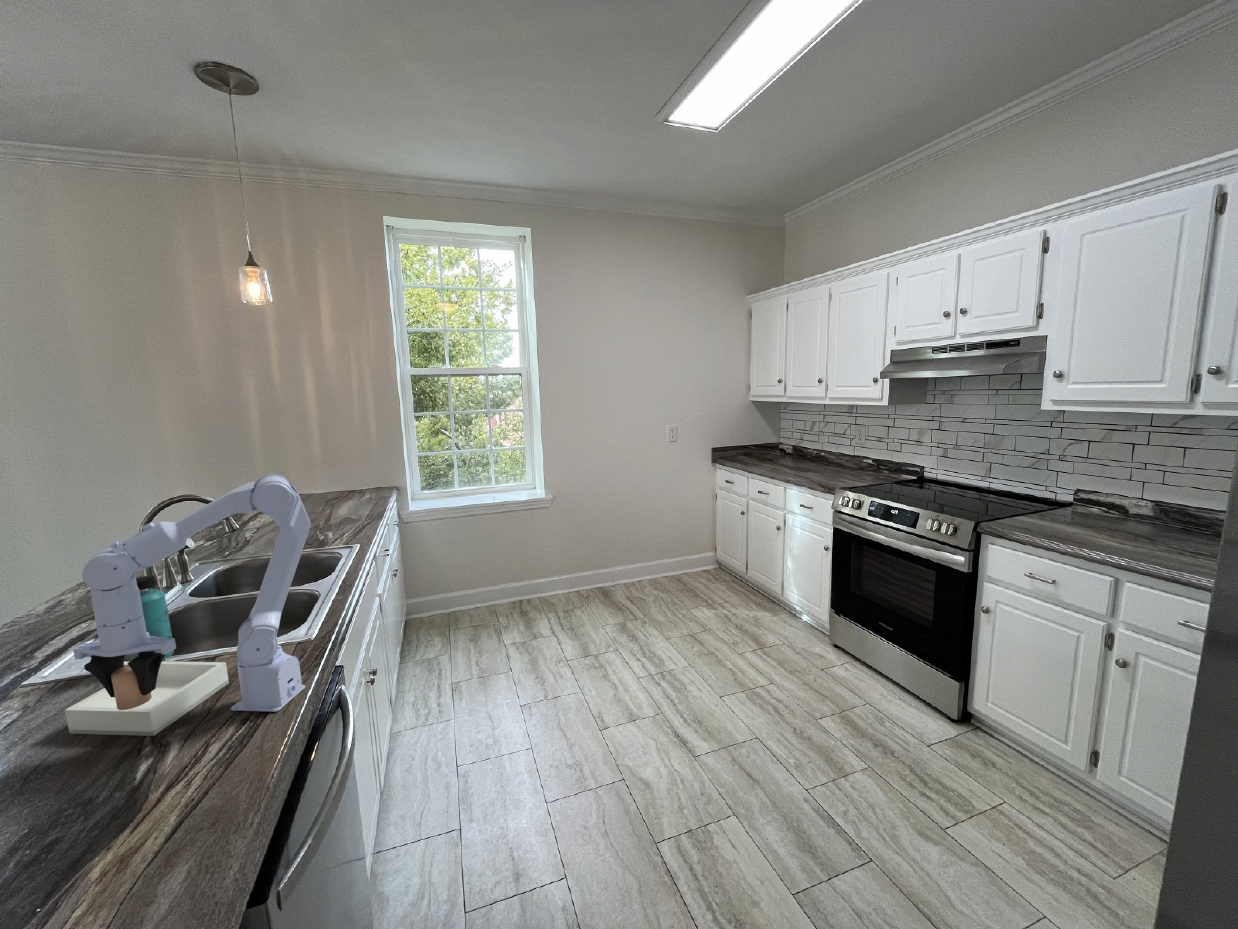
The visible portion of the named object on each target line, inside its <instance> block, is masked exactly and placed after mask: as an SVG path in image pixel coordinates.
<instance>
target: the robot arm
mask: <svg viewBox="0 0 1238 929" xmlns="http://www.w3.org/2000/svg"><path fill="white" fill-rule="evenodd" d="M255 508H256V510H258V511H259V512H261V513H262V514H265V515H266V516H267V517H269V518H271V519H272V520H273V522H274V523H275V524H276V525H277V526H278V528H279V533H278V535H277V539H276V542H275V545H274V548H273V551H272V552H271V555H270V556H271V557H270V559H269V562H268V565H267V568H266V571H265V574H264V577H263V580H262V583H261V585H260V587H259V592H258V594H257V597H256V601H255V603H254V605H253V607H252V609H251V611H250V613H249V616H248V618H247V619H246V620H245V621H244V622H243V623H242V624H241V625H240V627H239V628H238V631H237V632H238V633H237V638H238V641H237V646H236V657H237V659H236V665H237V666H236V667H237V672H238V679H239V686H240V688H239V689H240V692H241V693H240V694H241V700H239V701H238V702H236V703H235V704H234V705H233V706H231V707H230V710H231V711H234V712H235V711H236V712H238V711H240V712H241V711H242V712H279V711H280V710H281V709H282V708H284V707H285V706H286V705H287V704H288V703H289V702H290V701H291V700H293V699H294V698H295V697H296V696H298V694H300V693H301V692H302V691H303V690H304V689H305V688H306V685H305V684H303V683H302V682H303V681H302V674H301V664H300V661H299V659H298V657H297V656H295V655H290V654H288V653H285V652H284V651H283V647H282V646H281V645H279V641H278V637H277V636H278V631H279V628H280V622H281V617H282V612H283V609H284V606H285V603H286V600H287V597H288V594H289V591H290V588H291V586H292V583H293V580H294V576H295V574H296V570H297V567H298V565H299V562H300V559H301V556H302V552H303V551H304V550H303V549H304V546H305V543H306V540H307V538H308V534H309V532H310V529H311V521H310V518H309V515H308V514H307V511H306V508H305V506H304V504H303V501H302V499H301V496H300V495H299V492H298V490H297V488H296V487H295V486H294V485H293V484H292V483H291V482H290V481H289V480H288V479H287V478H286V477H285V476H283V475H280V474H275V473H273V474H267V475H263V476H261V477H260V478H259V479H258V480H256V481H254V480H253V481H249V482H247V483H245V484H242V485H240V486H239V487H236V488H234V489H232V490H231V491H228V492H227V493H225V494H223V495H221V496H219V497H218V498H216V499H214V500H213V501H211V502H209V503H207V504H205V505H204V506H202V507H200V508H199V509H197V510H195V511H193V512H191V513H190V514H188V515H186V516H185V517H183V518H181V519H179V520H178V521H165V520H164V521H159V522H156V523H155V524H154V523H153V521H152V522H149V523H147V524H145V525H144V526H143V527H142V531H139V532H138V533H136V534H133V535H132V536H130V537H129V538H126V539H125V540H122V541H118V540H117V541H115V542H112V543H111V544H110V545H109V546H110V547H109V548H106V549H103V550H101V551H99V552H98V553H96V554H95V555H94V556H93V557H92V558H91V559H89V561H88V562H87V563H86V564H85V566H84V568H83V569H82V573H81V578H82V581H83V582H84V584H86V585H87V586H88V587H89V590H90V595H91V605H92V611H93V614H94V621H95V626H96V630H97V631H96V632H97V638H98V641H94V642H84V643H82V644H80V645H78V646H76V647H74V648H73V649H72V651H73V657H74V660H83V659H85V658H90V661H89V662H87V663H85V664H84V665H83V667H84V670H85V671H87V672H89V673H90V674H91V675H92V676H94V677H95V678H96V679H97V680H98V681H99V682H100V684H101V685H102V686H103V688H105V689H106V691H107V692H108V694H109V695H110V697H115V695H114V690H113V684H112V679H111V674H112V673H113V672H114V671H116V670H118V669H120V668H122V667H125V659H126V658H125V657H126V655H128V656H129V655H135V654H138V655H139V657H136V656H135V657H134V658H133V659H131V660H130V661H128V662H127V666H129V667H130V668H131V669H132V670H133V672H134V674H135V676H136V678H137V681H138V685H139V689H140V692H141V694H142V695H148V694H149V693H150V692H152V691H153V690H154V689H156V682H157V676H158V672H159V668H160V665H161V663H162V661H164V659H163V658H164V656H165V654H168V653H170V652H171V651H173V650H174V651H175V650H176V649H177V644H176V639H175V638H161V637H154V636H150V635H149V632H146V626H145V620H144V615H143V609H142V603H141V598H140V590H139V588H138V587H137V582H136V578H137V577H136V574H135V572H136V573H137V572H138V571H144V570H146V569H149V568H150V567H151V566H154V565H155V564H158V563H159V562H160V561H161V562H162V561H163V560H164V559H167V558H168V557H170V556H172V555H173V554H175V553H177V552H179V551H180V550H182V549H184V548H185V547H186V545H187V541H188V538H189V537H190V536H193V535H194V534H196V533H198V532H200V531H202V530H205V529H207V528H208V527H210V526H213V525H214V524H216V523H218V522H220V521H222V520H224V519H226V518H228V517H229V516H232V515H234V514H255V513H254V512H255Z"/></svg>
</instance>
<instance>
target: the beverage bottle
mask: <svg viewBox="0 0 1238 929" xmlns="http://www.w3.org/2000/svg"><path fill="white" fill-rule="evenodd" d="M136 582H137V587H138V588H139V592H140V598H141V603H142V609H143V615H144V620H145V626H146V632H149V635H150V636H154V637H161V638H173V631H172V626H171V620H170V615H169V614H170V613H169V608H168V603H167V600H166V593H165V592H164V591H162V590H160V589H157V588H155V587H156V586H157V585H158V583H157V579H156V576H155V575H144V576H139V577H136ZM174 651H175V649H174V650H173V651H171V652H170V653H168V654H165V656H164V658H163V660H165V659H167V658H169V657H171V656H172V655H173V654H174ZM134 655H135V658H136V657H139V655H138V654H134Z"/></svg>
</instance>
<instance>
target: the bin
mask: <svg viewBox="0 0 1238 929" xmlns="http://www.w3.org/2000/svg"><path fill="white" fill-rule="evenodd" d="M228 673H229V672H228V668H227V663H226V662H223V661H221V662H220V661H218V662H217V661H215V662H214V661H164V660H162V663H161V665H160V668H159V672H158V676H157V682H156V689H154V690H153V691H152V692H151V694H152V698H151V699H150V700H149V701H148V702H146V703H144V704H143V705H140V706H138V707H135V708H132V709H127V710H118V709H117V706H116V700H115V697H110V695H109V694H108V692H107V691H106V689H105V688H104V687H103V688H102V689H100V690H98V691H96V692H95V693H92V694H91V695H88V697H86V698H84V699H82V700H80V701H79V702H77V703H75V704H73V705H71V706H69V707H67V708H65V709H64V713H65V718H66V722H67V728H68V733H69V734H72V735H73V734H77V735H107V736H108V735H109V736H111V735H112V736H115V735H116V736H142V737H143V736H144V737H145V736H147V737H154V736H156V735H157V734H159V733H160V732H161V731H164V729H166V728H167V727H169V726H170V725H172V724H173V723H174V722H176V721H177V720H179V719H181V717H183V716H184V715H186V714H187V713H188V712H190V711H192V710H193V709H194V708H195V707H197V706H199V705H200V704H201V703H202V702H205V700H208V699H209V698H210V697H212V696H213V695H214V694H215V693H217V692H219V690H221V689H223V688H224V687H225V686H227V685H228V684H230V682H229V675H228Z"/></svg>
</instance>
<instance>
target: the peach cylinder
mask: <svg viewBox="0 0 1238 929" xmlns="http://www.w3.org/2000/svg"><path fill="white" fill-rule="evenodd" d="M111 679H112V684H113V690H114V695H115V700H116V706H117V709H118V710H127V709H132V708H135V707H138V706H140V705H143V704H144V703H146V702H148V701H149V700H150V699H151V698H152V694H151V692H150V693H149V694H148V695H142V694H141V692H140V689H139V685H138V681H137V678H136V676H135V674H134V672H133V670H132V669H131V668H130V667H129V666H128V665H124V667H122V668H120V669H118V670H116V671H114V672H113V673H112V674H111Z"/></svg>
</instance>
